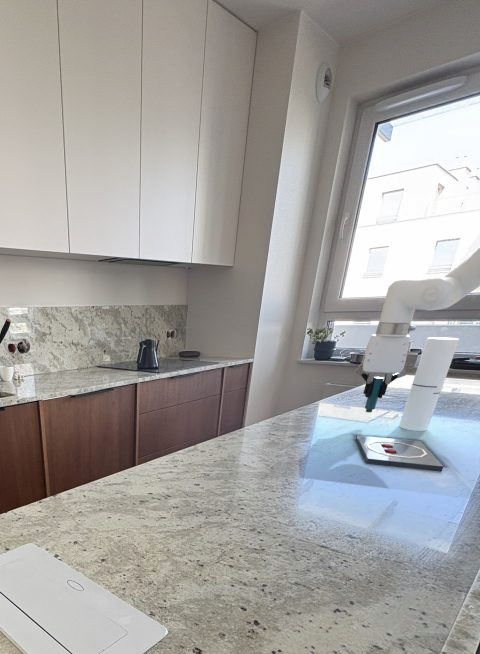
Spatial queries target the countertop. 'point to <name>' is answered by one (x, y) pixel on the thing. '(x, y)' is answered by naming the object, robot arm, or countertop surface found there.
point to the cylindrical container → (428, 382)
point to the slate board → (397, 453)
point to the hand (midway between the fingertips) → (373, 396)
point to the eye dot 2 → (390, 451)
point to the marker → (374, 394)
